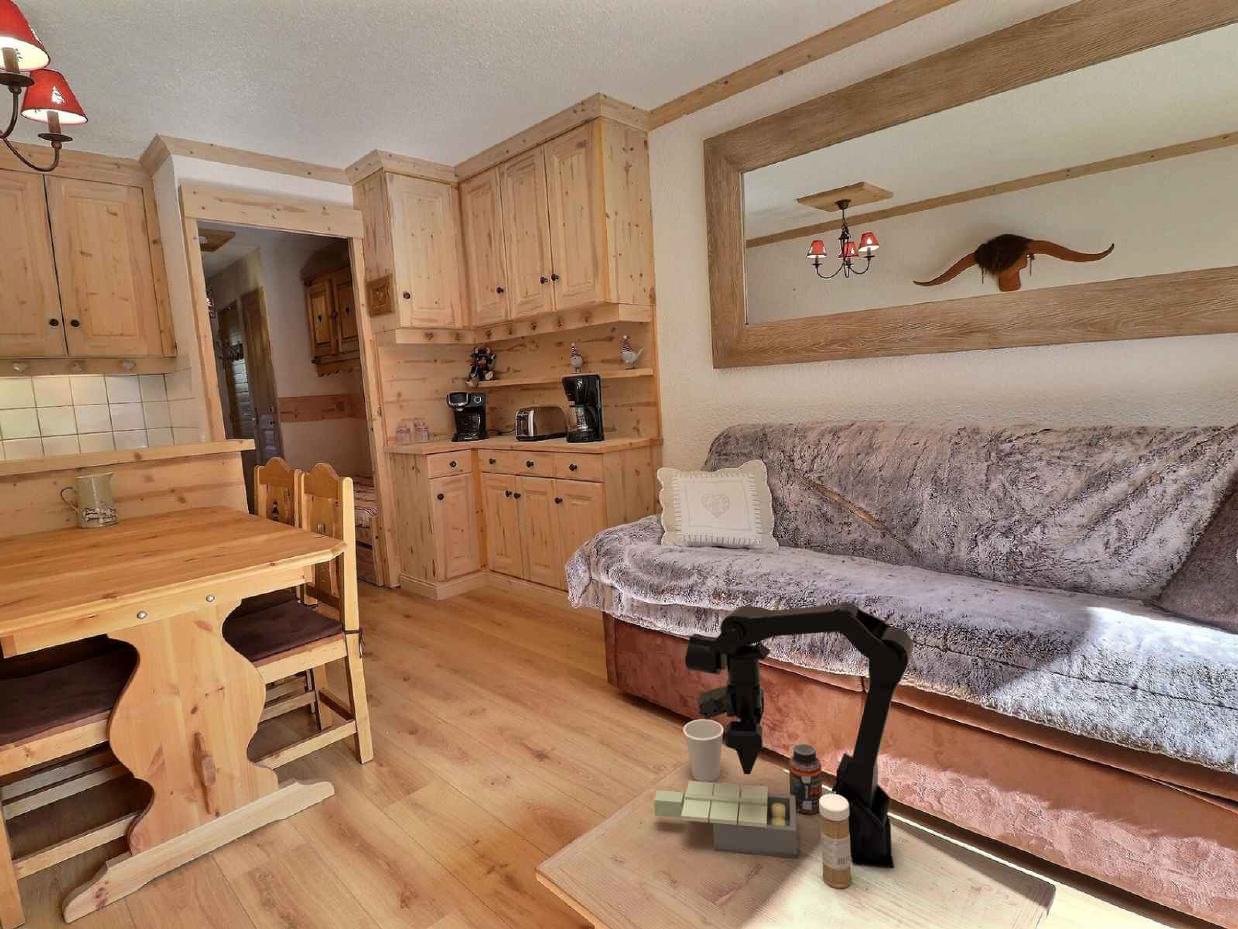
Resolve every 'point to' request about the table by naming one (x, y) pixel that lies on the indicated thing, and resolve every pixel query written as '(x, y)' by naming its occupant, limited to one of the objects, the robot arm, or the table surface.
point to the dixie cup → (704, 748)
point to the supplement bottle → (805, 778)
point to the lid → (715, 804)
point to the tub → (763, 831)
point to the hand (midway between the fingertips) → (748, 759)
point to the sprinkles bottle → (835, 840)
